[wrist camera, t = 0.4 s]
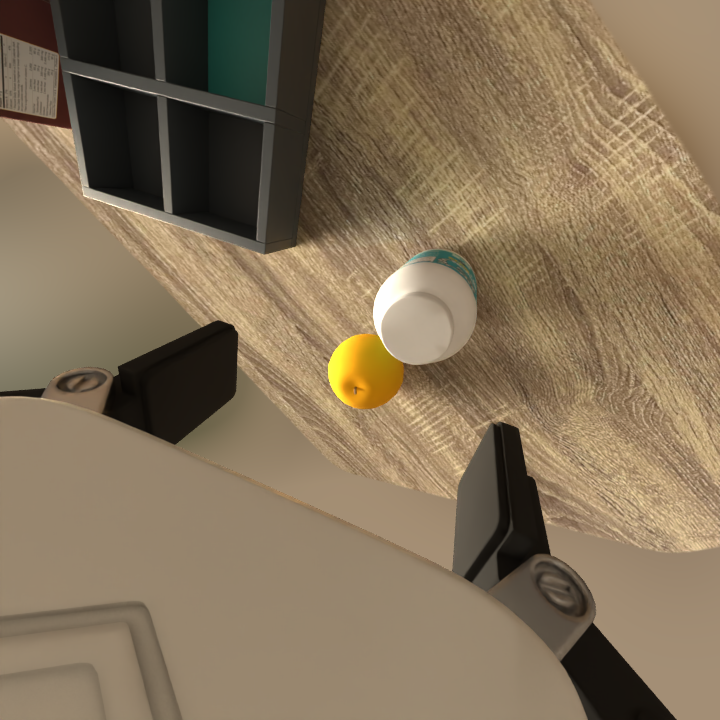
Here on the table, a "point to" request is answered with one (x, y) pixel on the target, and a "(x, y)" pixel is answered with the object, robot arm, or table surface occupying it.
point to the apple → (365, 372)
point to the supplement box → (31, 65)
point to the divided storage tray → (194, 109)
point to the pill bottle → (427, 307)
